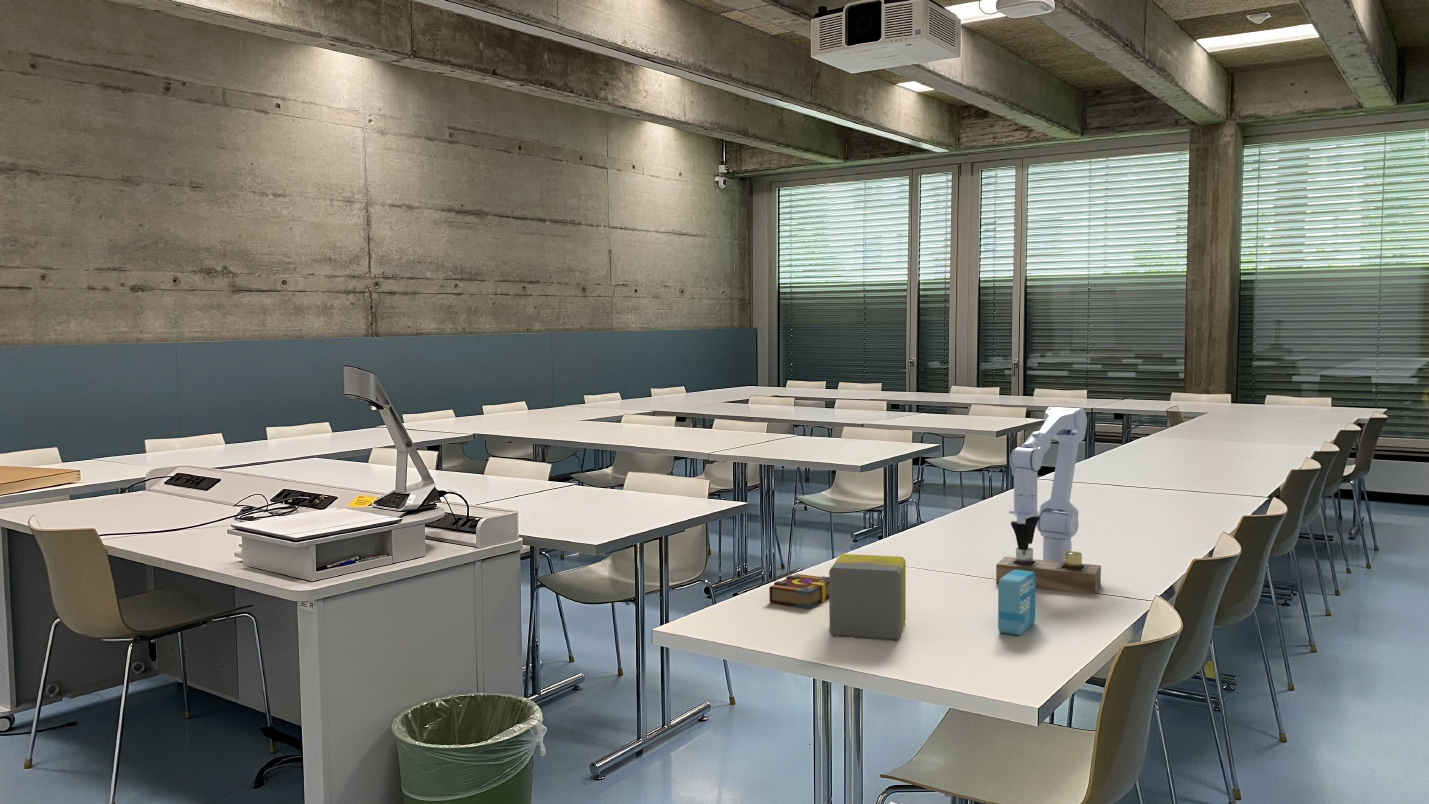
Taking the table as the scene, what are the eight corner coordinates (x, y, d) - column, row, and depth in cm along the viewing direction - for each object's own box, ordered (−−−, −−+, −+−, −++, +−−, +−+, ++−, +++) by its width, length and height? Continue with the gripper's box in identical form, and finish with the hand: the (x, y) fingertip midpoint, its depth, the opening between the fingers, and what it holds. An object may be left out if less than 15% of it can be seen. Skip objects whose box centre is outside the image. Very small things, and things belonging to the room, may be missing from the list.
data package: (1018, 637, 215) (1019, 582, 214) (997, 634, 217) (998, 579, 216) (1035, 623, 224) (1035, 570, 224) (1015, 620, 227) (1015, 567, 226)
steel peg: (1017, 563, 263) (1017, 546, 263) (1034, 565, 261) (1034, 547, 261) (1014, 566, 260) (1014, 549, 259) (1030, 568, 258) (1031, 551, 257)
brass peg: (1065, 568, 258) (1065, 550, 257) (1082, 569, 256) (1083, 552, 255) (1062, 571, 254) (1062, 554, 254) (1080, 573, 252) (1080, 555, 252)
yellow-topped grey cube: (909, 610, 236) (909, 547, 235) (899, 641, 213) (899, 571, 212) (845, 606, 240) (845, 544, 239) (829, 637, 217) (828, 568, 216)
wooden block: (1004, 574, 268) (1005, 556, 268) (1100, 584, 257) (1100, 565, 256) (996, 583, 259) (996, 564, 259) (1094, 594, 248) (1095, 573, 248)
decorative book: (768, 604, 244) (767, 584, 244) (798, 589, 258) (797, 570, 257) (810, 610, 238) (810, 589, 238) (838, 594, 252) (838, 574, 252)
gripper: (1014, 489, 267) (1014, 539, 268) (1004, 497, 254) (1004, 551, 255) (1042, 490, 264) (1041, 541, 265) (1033, 499, 251) (1033, 553, 252)
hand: (1025, 546), depth 260 cm, fingers open, 7 cm apart
